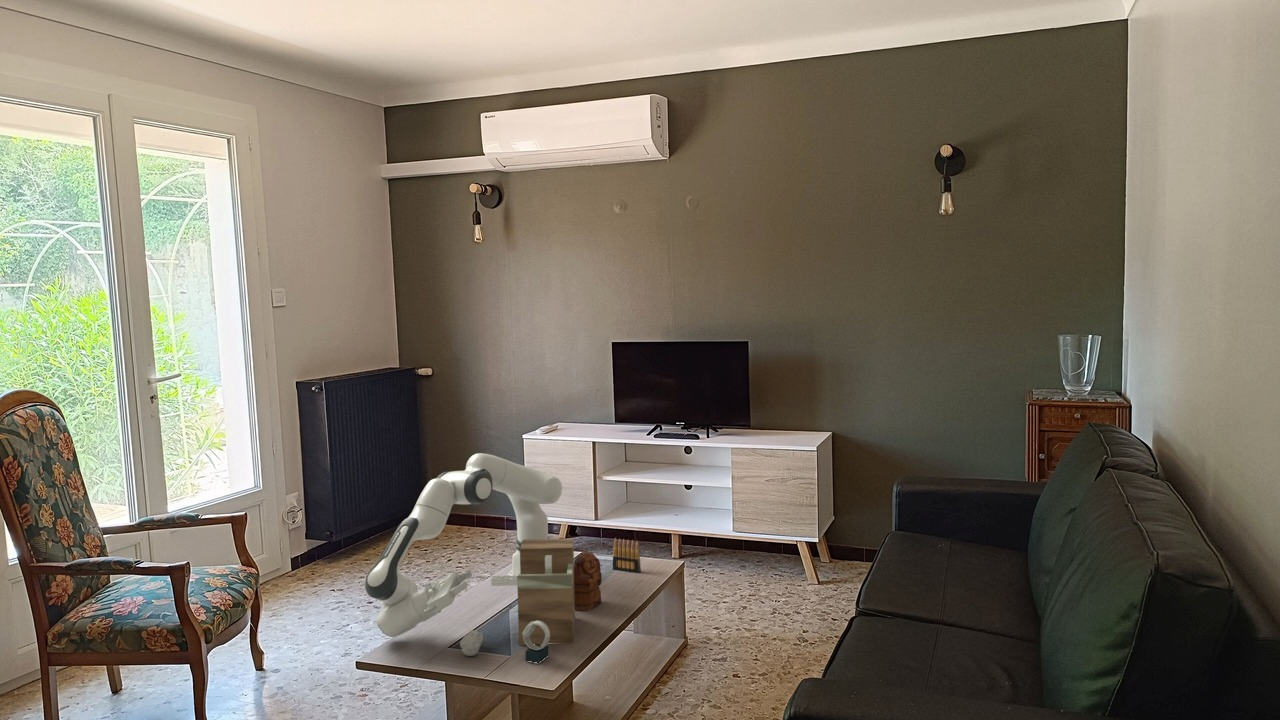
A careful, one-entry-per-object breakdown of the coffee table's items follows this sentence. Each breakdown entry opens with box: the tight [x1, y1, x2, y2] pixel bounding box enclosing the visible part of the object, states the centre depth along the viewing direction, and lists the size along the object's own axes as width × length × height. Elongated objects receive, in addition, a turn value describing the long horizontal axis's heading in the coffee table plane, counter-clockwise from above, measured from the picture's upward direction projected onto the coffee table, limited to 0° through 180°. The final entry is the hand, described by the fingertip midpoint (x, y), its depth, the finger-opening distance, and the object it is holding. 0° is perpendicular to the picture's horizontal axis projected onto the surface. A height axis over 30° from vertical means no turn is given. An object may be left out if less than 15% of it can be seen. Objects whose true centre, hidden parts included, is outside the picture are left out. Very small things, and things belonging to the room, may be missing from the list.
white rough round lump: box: [459, 629, 484, 657], centre depth 254 cm, size 6×7×7 cm
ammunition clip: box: [612, 537, 642, 574], centre depth 325 cm, size 11×2×12 cm, turn 67°
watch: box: [522, 620, 550, 663], centre depth 250 cm, size 6×8×11 cm
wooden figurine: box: [574, 551, 603, 611], centre depth 291 cm, size 12×6×18 cm, turn 148°
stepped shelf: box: [516, 537, 576, 646], centre depth 270 cm, size 20×16×26 cm
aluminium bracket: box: [490, 555, 552, 587], centre depth 264 cm, size 3×18×8 cm, turn 93°
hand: (468, 578), depth 263 cm, fingers open, 8 cm apart
